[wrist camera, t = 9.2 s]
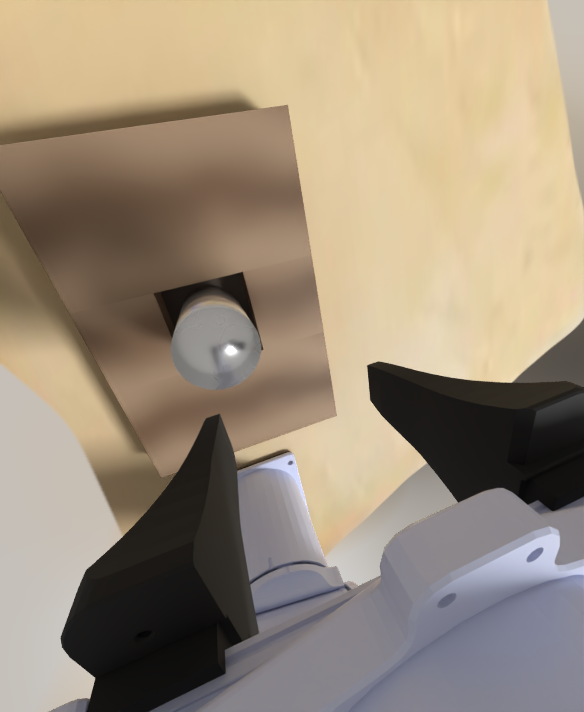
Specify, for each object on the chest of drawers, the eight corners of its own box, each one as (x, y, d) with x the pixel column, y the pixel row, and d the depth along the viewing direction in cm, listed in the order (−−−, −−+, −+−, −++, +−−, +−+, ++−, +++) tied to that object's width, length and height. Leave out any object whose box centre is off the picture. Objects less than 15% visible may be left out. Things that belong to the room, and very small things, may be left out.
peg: (248, 334, 20) (269, 374, 14) (193, 351, 19) (189, 401, 13) (232, 279, 18) (248, 296, 12) (171, 295, 18) (155, 322, 11)
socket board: (325, 400, 25) (336, 415, 23) (165, 454, 22) (161, 477, 20) (276, 123, 16) (287, 104, 14) (13, 163, 14) (-24, 148, 12)
